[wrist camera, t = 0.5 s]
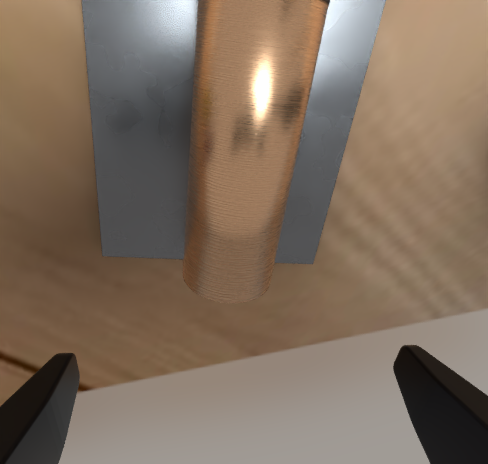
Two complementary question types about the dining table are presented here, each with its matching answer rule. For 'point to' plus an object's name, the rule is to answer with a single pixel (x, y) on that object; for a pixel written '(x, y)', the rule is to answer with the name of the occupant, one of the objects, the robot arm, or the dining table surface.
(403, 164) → the dining table surface
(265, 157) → the tube
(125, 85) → the plate
